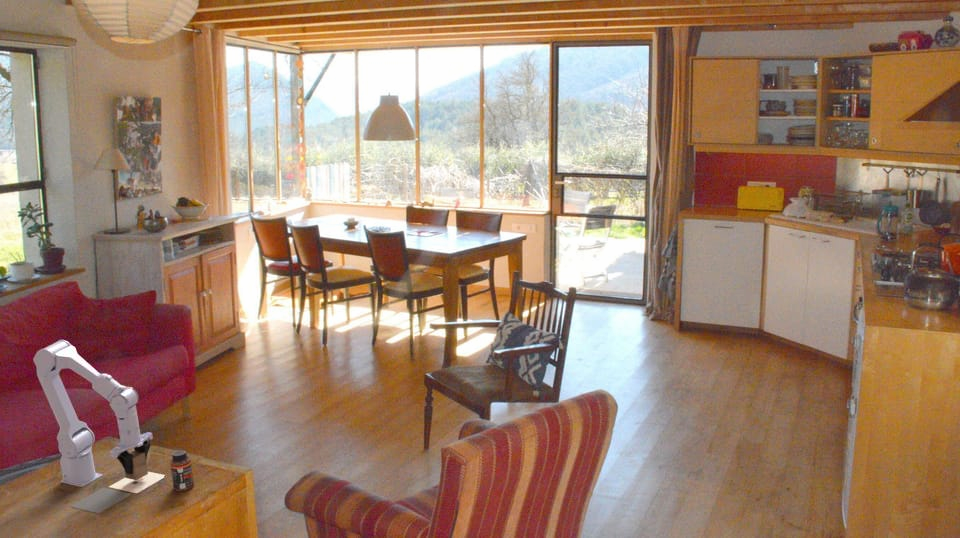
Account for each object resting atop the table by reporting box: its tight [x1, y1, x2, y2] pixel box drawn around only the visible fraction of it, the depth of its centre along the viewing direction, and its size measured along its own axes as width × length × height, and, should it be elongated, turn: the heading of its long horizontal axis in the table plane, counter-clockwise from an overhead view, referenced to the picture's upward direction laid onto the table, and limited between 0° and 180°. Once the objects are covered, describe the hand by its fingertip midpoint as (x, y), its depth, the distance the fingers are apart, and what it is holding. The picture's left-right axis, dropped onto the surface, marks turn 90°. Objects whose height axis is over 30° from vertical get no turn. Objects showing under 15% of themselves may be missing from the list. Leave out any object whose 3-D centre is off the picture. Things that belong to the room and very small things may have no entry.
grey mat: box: [69, 487, 132, 515], centre depth 259 cm, size 12×12×1 cm
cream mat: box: [108, 471, 166, 494], centre depth 270 cm, size 12×12×1 cm
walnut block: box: [124, 450, 149, 480], centre depth 269 cm, size 4×4×7 cm
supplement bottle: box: [169, 449, 195, 492], centre depth 263 cm, size 6×6×11 cm
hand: (136, 469), depth 269 cm, fingers closed on walnut block, 4 cm apart
